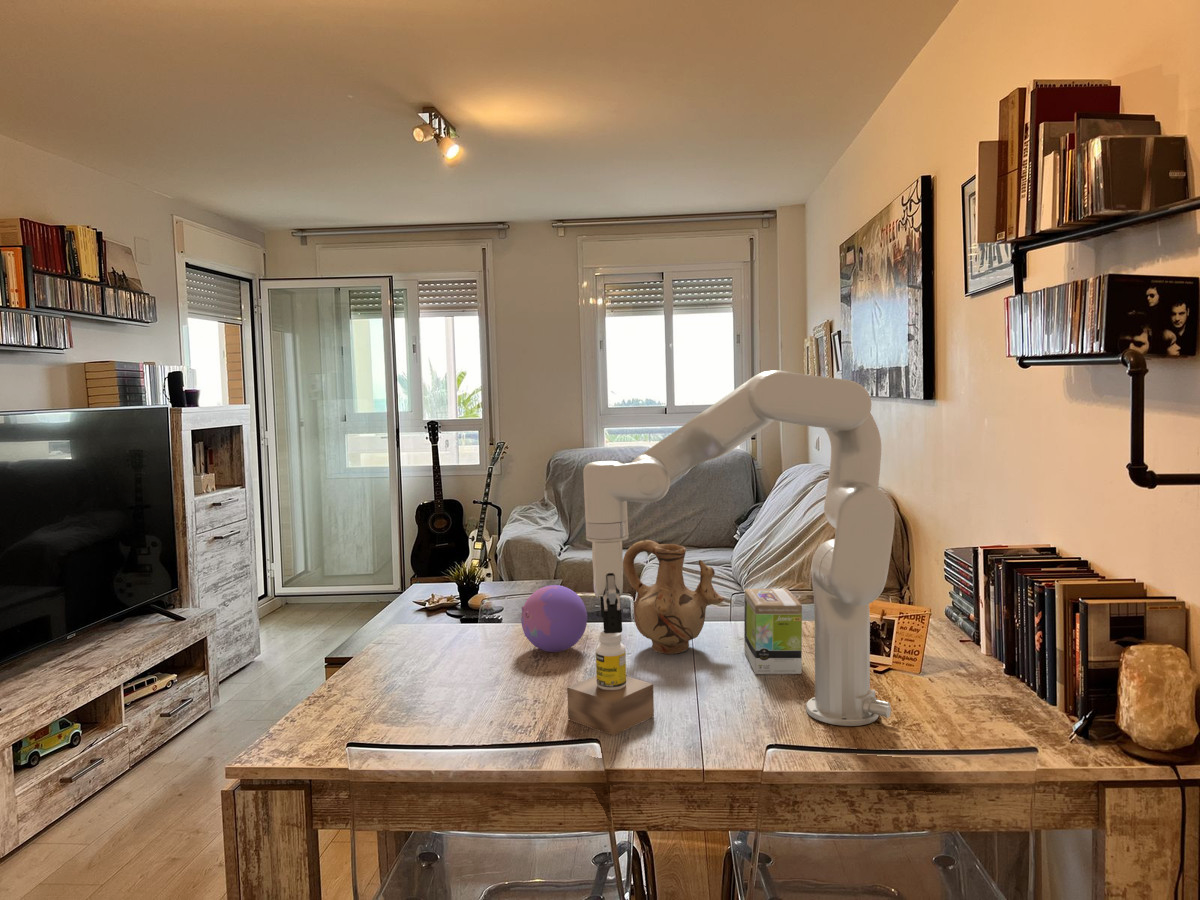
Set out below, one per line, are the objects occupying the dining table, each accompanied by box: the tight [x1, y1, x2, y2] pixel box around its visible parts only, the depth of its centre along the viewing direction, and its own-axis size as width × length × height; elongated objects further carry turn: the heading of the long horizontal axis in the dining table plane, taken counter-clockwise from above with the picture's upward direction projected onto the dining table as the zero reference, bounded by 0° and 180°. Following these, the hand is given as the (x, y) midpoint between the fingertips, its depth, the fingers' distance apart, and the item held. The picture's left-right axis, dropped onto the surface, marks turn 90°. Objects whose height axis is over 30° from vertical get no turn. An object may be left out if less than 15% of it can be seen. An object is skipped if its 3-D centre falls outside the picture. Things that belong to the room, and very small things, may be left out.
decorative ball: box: [520, 584, 588, 653], centre depth 190 cm, size 15×15×15 cm
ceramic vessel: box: [623, 539, 724, 655], centre depth 189 cm, size 18×19×25 cm
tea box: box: [743, 588, 803, 675], centre depth 178 cm, size 15×10×15 cm
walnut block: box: [566, 675, 655, 736], centre depth 151 cm, size 11×11×6 cm
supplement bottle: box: [595, 630, 627, 690], centre depth 150 cm, size 5×5×10 cm
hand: (611, 624), depth 150 cm, fingers open, 9 cm apart
